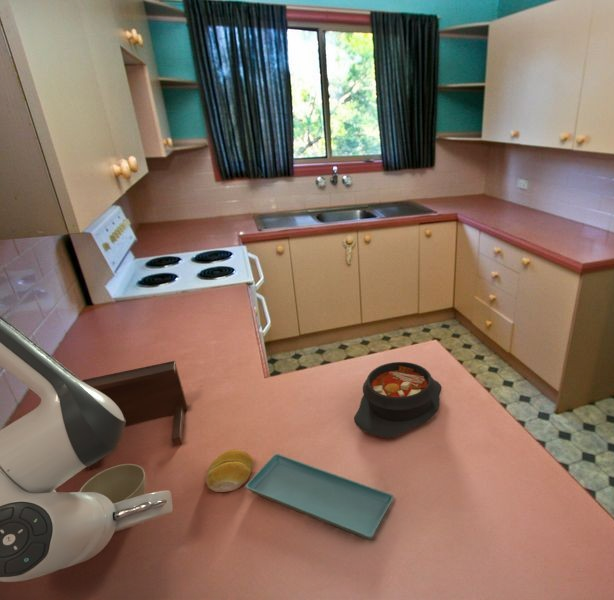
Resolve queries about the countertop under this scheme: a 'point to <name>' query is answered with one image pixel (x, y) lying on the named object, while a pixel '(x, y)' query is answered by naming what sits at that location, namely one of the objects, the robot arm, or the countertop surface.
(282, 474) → the rectangular tray
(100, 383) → the cup rack
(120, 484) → the beige bowl
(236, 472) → the bread roll
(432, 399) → the casserole
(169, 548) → the countertop surface
